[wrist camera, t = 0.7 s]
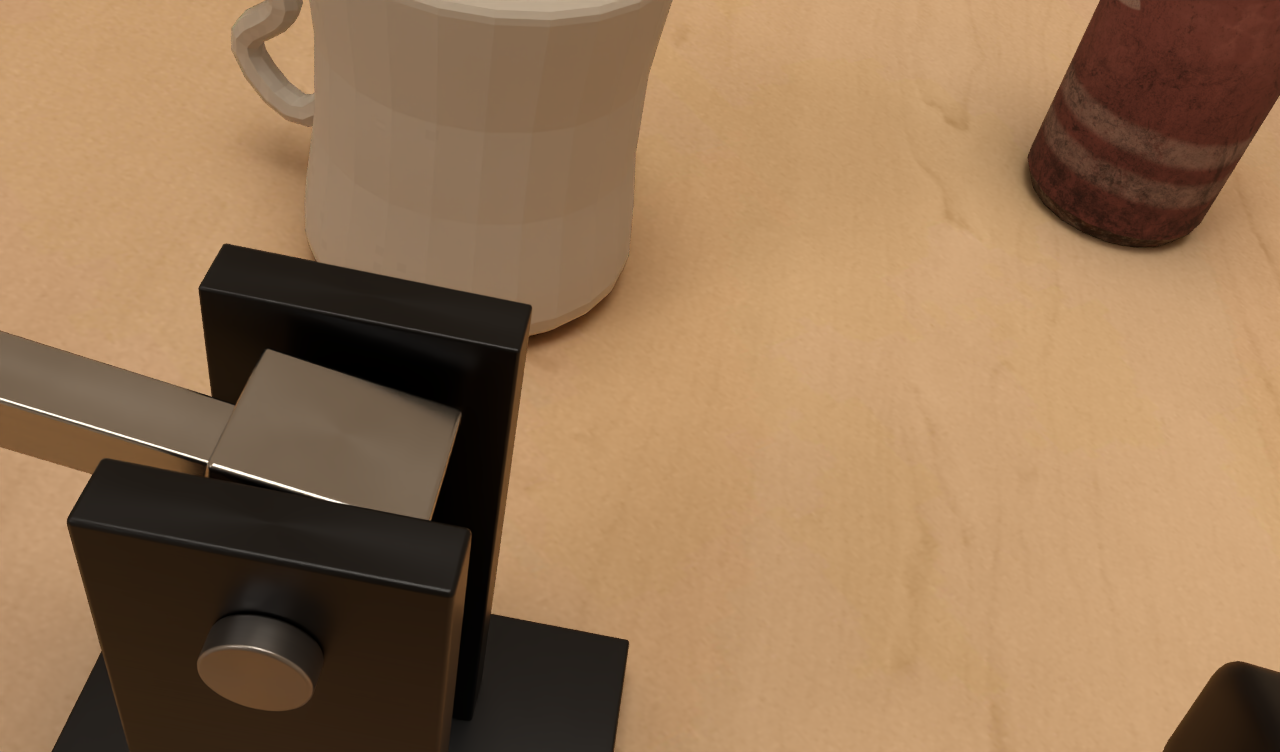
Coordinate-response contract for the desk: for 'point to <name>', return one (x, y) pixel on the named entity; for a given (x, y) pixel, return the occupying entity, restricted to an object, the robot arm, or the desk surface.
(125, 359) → the desk surface
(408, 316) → the bracket
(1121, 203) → the can
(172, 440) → the lever handle
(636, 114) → the mug
